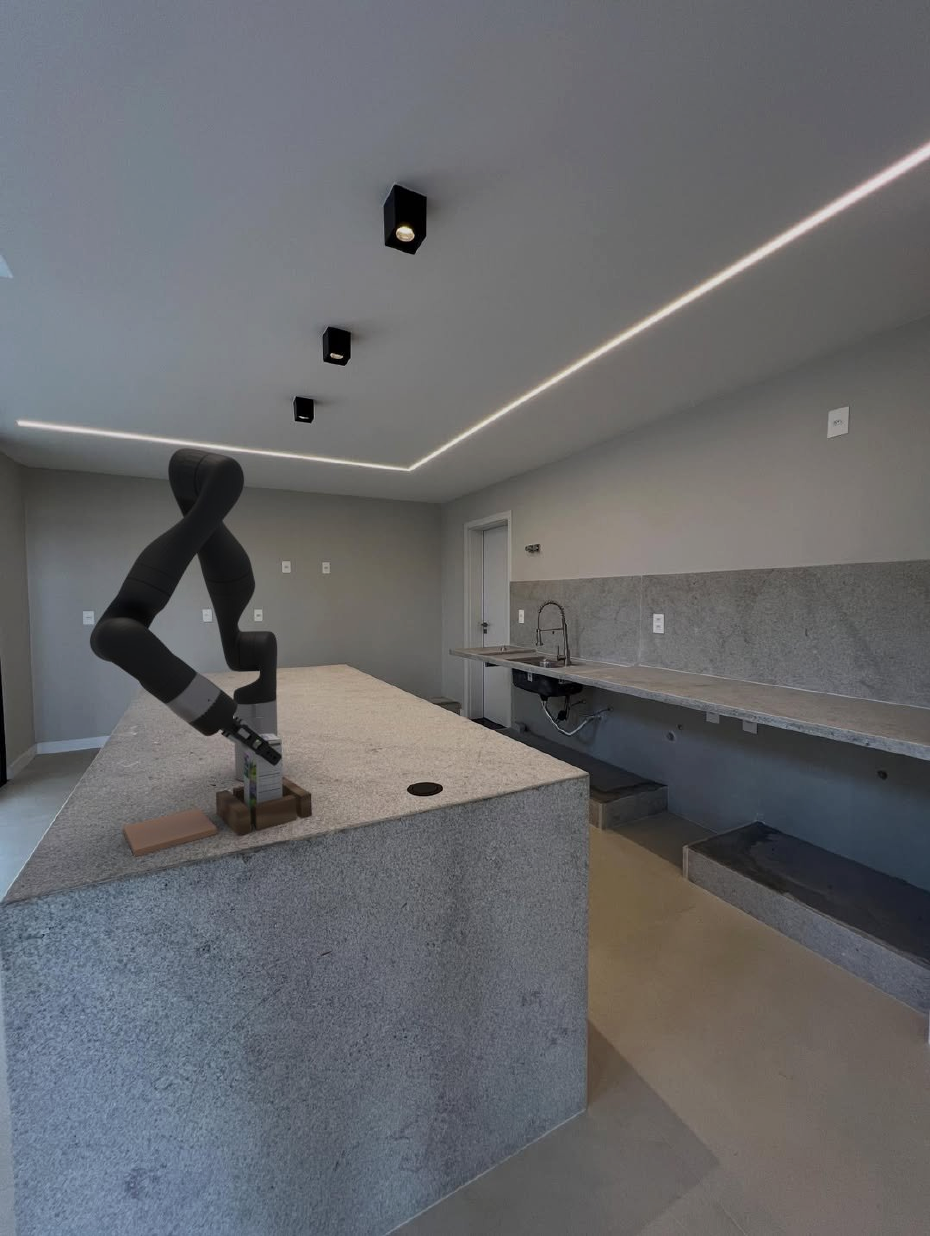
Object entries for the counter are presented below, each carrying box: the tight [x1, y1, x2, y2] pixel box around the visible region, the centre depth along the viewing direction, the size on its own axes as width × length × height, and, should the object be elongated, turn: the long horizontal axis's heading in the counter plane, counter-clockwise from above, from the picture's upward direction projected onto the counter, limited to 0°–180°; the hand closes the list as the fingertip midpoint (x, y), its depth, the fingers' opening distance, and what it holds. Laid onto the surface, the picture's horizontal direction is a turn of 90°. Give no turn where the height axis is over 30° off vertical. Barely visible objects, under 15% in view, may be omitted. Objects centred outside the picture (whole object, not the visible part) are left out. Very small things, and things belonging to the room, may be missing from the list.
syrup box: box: [243, 734, 283, 823], centre depth 97 cm, size 6×6×14 cm
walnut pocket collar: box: [215, 776, 313, 837], centre depth 97 cm, size 13×13×4 cm
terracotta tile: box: [122, 807, 218, 857], centre depth 89 cm, size 12×12×1 cm
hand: (269, 756), depth 97 cm, fingers open, 8 cm apart
